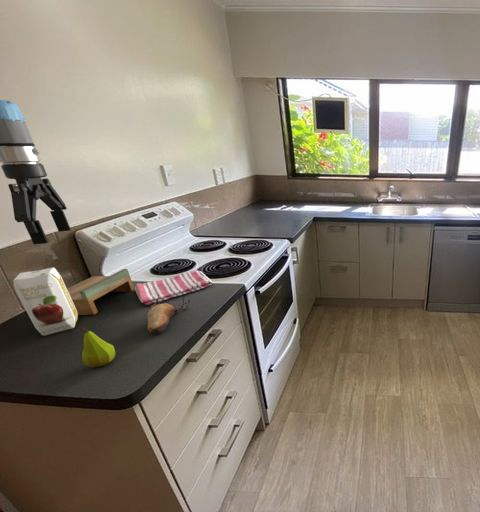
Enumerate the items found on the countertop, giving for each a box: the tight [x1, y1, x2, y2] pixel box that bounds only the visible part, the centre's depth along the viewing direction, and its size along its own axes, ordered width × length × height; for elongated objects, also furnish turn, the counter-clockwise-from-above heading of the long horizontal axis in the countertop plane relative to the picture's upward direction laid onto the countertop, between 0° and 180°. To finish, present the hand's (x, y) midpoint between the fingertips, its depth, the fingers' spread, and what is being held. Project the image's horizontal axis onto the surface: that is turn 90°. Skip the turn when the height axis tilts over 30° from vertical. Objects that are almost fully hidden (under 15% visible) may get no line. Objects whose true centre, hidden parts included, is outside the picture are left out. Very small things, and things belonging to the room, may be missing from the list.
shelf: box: [67, 268, 135, 316], centre depth 104 cm, size 14×18×9 cm
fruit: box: [80, 327, 116, 368], centre depth 74 cm, size 6×6×12 cm
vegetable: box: [146, 295, 191, 335], centre depth 91 cm, size 16×11×10 cm
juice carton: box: [12, 266, 79, 337], centre depth 87 cm, size 8×9×19 cm
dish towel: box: [133, 270, 214, 306], centre depth 114 cm, size 17×23×4 cm
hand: (53, 236), depth 87 cm, fingers open, 13 cm apart
